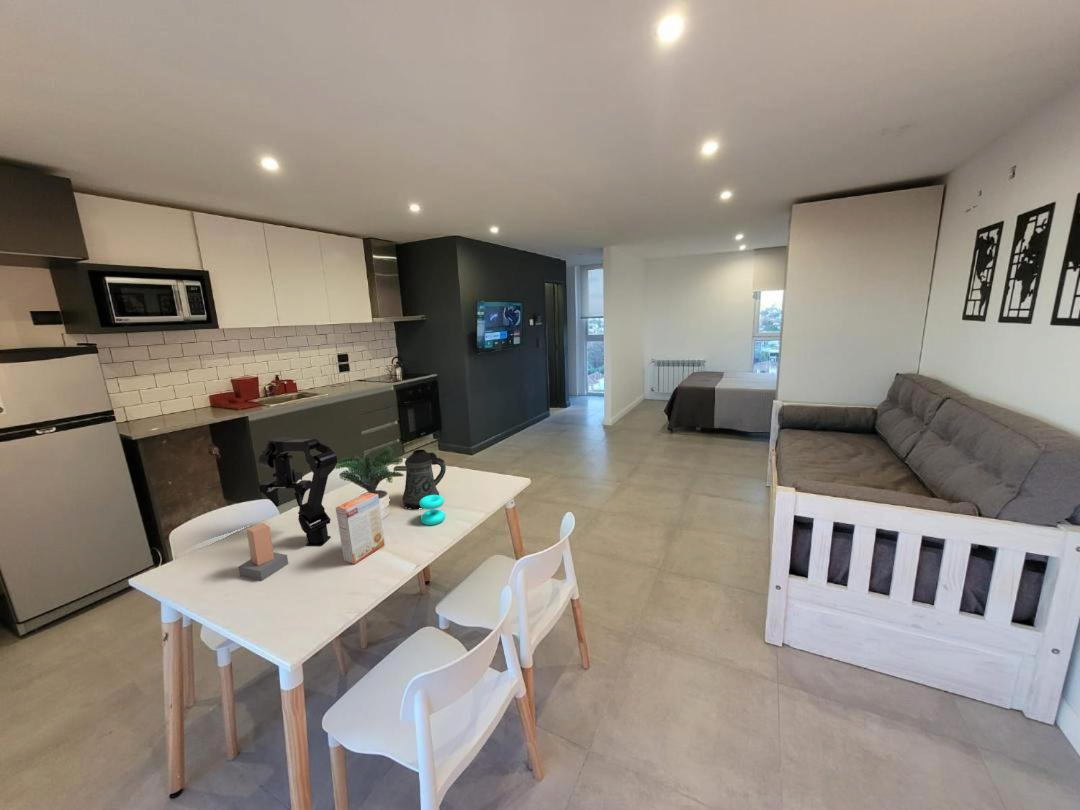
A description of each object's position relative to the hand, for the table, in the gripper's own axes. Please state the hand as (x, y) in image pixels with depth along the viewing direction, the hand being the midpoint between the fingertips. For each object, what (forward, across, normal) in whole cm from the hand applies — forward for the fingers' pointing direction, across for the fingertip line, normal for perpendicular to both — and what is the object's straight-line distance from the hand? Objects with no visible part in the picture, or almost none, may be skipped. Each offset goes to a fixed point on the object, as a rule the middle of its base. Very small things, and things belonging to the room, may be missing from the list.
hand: (289, 506), depth 165 cm
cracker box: (+12, -36, +14) cm, 41 cm away
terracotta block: (+8, -5, +24) cm, 26 cm away
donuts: (+12, -54, -11) cm, 57 cm away
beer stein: (+12, -44, -30) cm, 55 cm away
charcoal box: (+12, -6, +24) cm, 28 cm away
